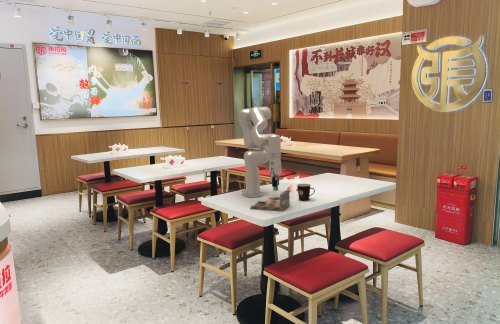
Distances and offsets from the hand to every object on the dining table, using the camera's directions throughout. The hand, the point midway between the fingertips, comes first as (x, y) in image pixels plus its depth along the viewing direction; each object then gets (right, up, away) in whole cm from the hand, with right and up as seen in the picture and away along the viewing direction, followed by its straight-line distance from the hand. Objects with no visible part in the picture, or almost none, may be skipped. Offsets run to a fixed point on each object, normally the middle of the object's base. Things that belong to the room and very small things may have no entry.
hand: (275, 185), depth 228 cm
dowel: (0, -3, 0) cm, 3 cm away
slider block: (0, -12, +2) cm, 13 cm away
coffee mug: (+20, -11, +18) cm, 29 cm away
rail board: (-3, -14, +4) cm, 14 cm away
